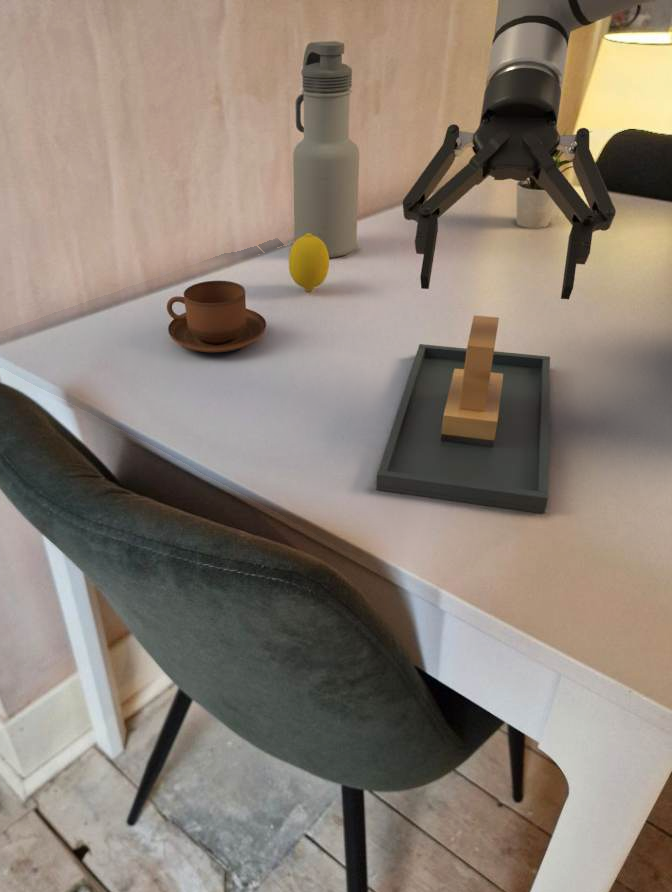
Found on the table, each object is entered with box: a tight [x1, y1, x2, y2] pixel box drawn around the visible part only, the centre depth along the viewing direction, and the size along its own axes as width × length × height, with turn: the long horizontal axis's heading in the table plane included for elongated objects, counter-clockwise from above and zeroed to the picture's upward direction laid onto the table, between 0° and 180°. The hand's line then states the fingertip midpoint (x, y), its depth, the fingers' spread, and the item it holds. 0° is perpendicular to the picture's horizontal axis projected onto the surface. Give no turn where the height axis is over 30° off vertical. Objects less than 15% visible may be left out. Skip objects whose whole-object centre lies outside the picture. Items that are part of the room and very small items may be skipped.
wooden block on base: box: [441, 315, 503, 447], centre depth 74 cm, size 10×5×10 cm, turn 164°
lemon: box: [288, 233, 330, 292], centre depth 104 cm, size 6×6×8 cm
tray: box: [375, 343, 551, 514], centre depth 77 cm, size 28×15×2 cm, turn 164°
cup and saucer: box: [166, 280, 267, 353], centre depth 93 cm, size 12×12×6 cm
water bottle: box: [292, 40, 360, 259], centre depth 112 cm, size 10×10×28 cm
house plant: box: [516, 128, 593, 229], centre depth 124 cm, size 14×14×16 cm
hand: (494, 288), depth 75 cm, fingers open, 13 cm apart
